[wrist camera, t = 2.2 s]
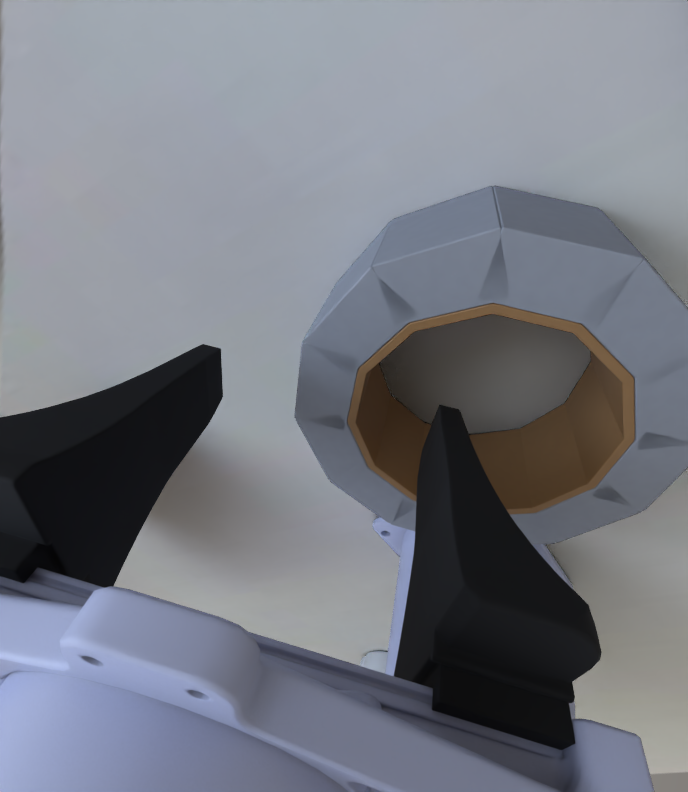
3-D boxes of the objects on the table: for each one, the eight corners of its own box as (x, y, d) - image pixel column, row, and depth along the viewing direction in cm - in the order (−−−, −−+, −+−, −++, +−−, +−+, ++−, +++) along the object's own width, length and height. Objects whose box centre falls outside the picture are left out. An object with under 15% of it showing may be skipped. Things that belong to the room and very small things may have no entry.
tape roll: (708, 415, 17) (769, 505, 13) (419, 495, 23) (411, 570, 20) (592, 85, 12) (645, 95, 8) (264, 305, 18) (217, 362, 15)
